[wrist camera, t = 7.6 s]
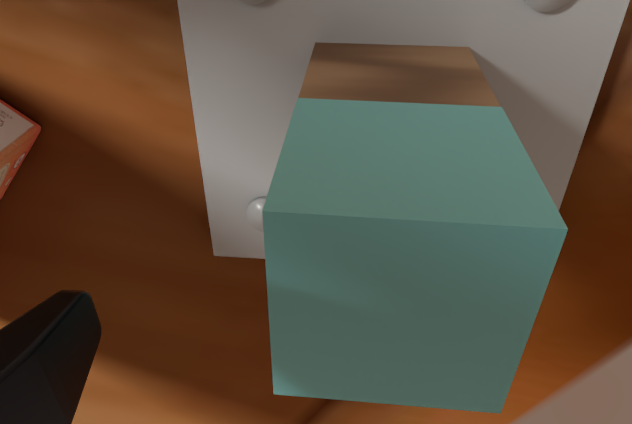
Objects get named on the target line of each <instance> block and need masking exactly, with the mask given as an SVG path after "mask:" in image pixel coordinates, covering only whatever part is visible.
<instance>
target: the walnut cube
mask: <svg viewBox="0 0 632 424" xmlns="http://www.w3.org/2000/svg"><path fill="white" fill-rule="evenodd" d="M298 98H310V99H333V100H356V101H379V102H402V103H424V104H447V105H470V106H493V107H501V106H500V104H499V103H498V101H497V99H496V97H495V95H494V93H493V91H492V89H491V88H490V86H489V84H488V82H487V80H486V78H485V76H484V74H483V73H482V71H481V69H480V67H479V65H478V63H477V61H476V60H475V58H474V56H473V54H472V52H471V50H470V48H469V47H452V46H419V45H386V44H354V43H321V42H315V45H314V48H313V51H312V55H311V58H310V61H309V64H308V68H307V71H306V74H305V77H304V81H303V84H302V87H301V90H300V93H299V97H298Z"/></svg>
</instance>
